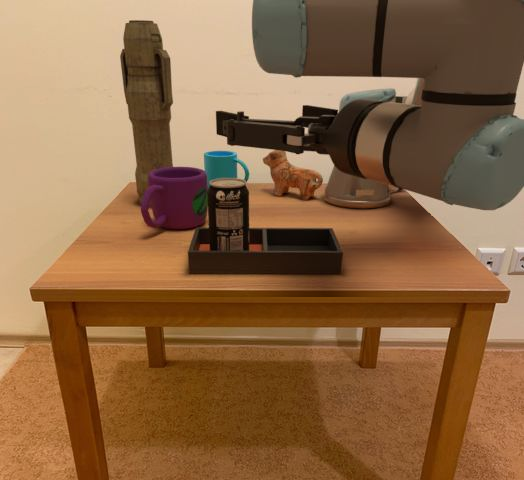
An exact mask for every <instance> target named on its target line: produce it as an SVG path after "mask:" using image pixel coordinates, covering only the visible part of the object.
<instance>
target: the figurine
mask: <svg viewBox="0 0 524 480" xmlns="http://www.w3.org/2000/svg"><path fill="white" fill-rule="evenodd" d="M262 162H263V164H264V165H266V166H268V167H269V169H270V173H269V174H270V177H271V179H272V181H273V183H274V192H273V193H274V195H275V196H277V197H281V196H283V194H288V193H289V191H290V188H292V189H293V188H294V189H298V190H299V194H300V198H301V200H302V201H306V200H309V199H310V198H313V197H314V195H315V192H316V190H318V189H320V187H321V186H322V185H323V181H324V179H323V176H322V174H321V173H320V172H318V171H316V170H313V169H310V168H304V167H299V166H295V165H293V164H292V163H290V162H289V160H288V157H287V151H281V150H272V151H270V152H268V154H267V155H266V156H264V157H263V158H262Z"/></svg>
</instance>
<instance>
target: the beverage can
mask: <svg viewBox="0 0 524 480" xmlns="http://www.w3.org/2000/svg"><path fill="white" fill-rule="evenodd" d="M209 183H210V187H209V189H208V191H207V200H208V208H207V218H208V228H209V242H210V251H249V228H250V191H249V188H248V187H247V182H246V181H245V180H244V179H242V178H238V177H237V178H219V179H214V180H211V181H210V182H209Z"/></svg>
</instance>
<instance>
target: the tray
mask: <svg viewBox="0 0 524 480" xmlns="http://www.w3.org/2000/svg"><path fill="white" fill-rule="evenodd" d="M343 255H344V252H343V250H342V247H341V245H340V243H339V240H338V238H337V236H336V232H335V231H334V228H333V227H249V251H210V242H209V227H208V226H207V227H202V226H201V227H200V226H197V227H195V228H194V231H193V235H192V238H191V240H190V243H189V248H188V251H187V259H188V260H187V261H188V273H189V274H229V275H230V274H232V275H233V274H235V275H237V274H241V275H242V274H243V275H246V274H247V275H249V274H250V275H251V274H253V275H254V274H255V275H256V274H259V275H260V274H264V275H265V274H268V275H274V274H275V275H341V274H342V267H343Z"/></svg>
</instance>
